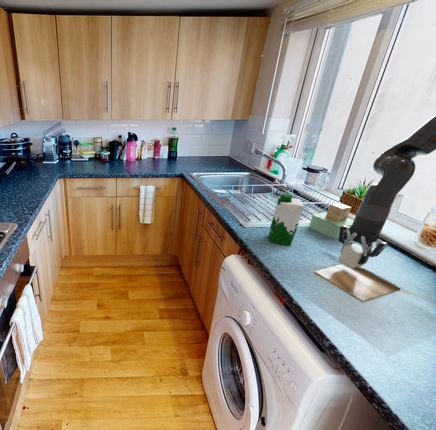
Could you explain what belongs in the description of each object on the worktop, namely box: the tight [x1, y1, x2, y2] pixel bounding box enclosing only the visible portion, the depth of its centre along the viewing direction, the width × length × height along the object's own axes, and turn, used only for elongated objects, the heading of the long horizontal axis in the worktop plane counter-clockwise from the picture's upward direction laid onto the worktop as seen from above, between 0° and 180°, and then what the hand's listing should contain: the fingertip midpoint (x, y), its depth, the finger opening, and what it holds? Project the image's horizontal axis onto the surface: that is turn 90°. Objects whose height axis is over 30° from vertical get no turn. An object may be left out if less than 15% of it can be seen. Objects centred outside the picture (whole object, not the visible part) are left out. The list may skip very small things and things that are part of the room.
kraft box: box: [326, 202, 352, 222], centre depth 121 cm, size 6×5×6 cm
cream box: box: [337, 243, 365, 268], centre depth 99 cm, size 6×5×6 cm
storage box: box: [308, 211, 354, 241], centre depth 124 cm, size 13×13×8 cm
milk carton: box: [268, 193, 305, 247], centre depth 116 cm, size 9×9×20 cm
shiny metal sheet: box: [313, 263, 401, 303], centre depth 96 cm, size 18×16×1 cm
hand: (352, 259), depth 100 cm, fingers closed on cream box, 5 cm apart
